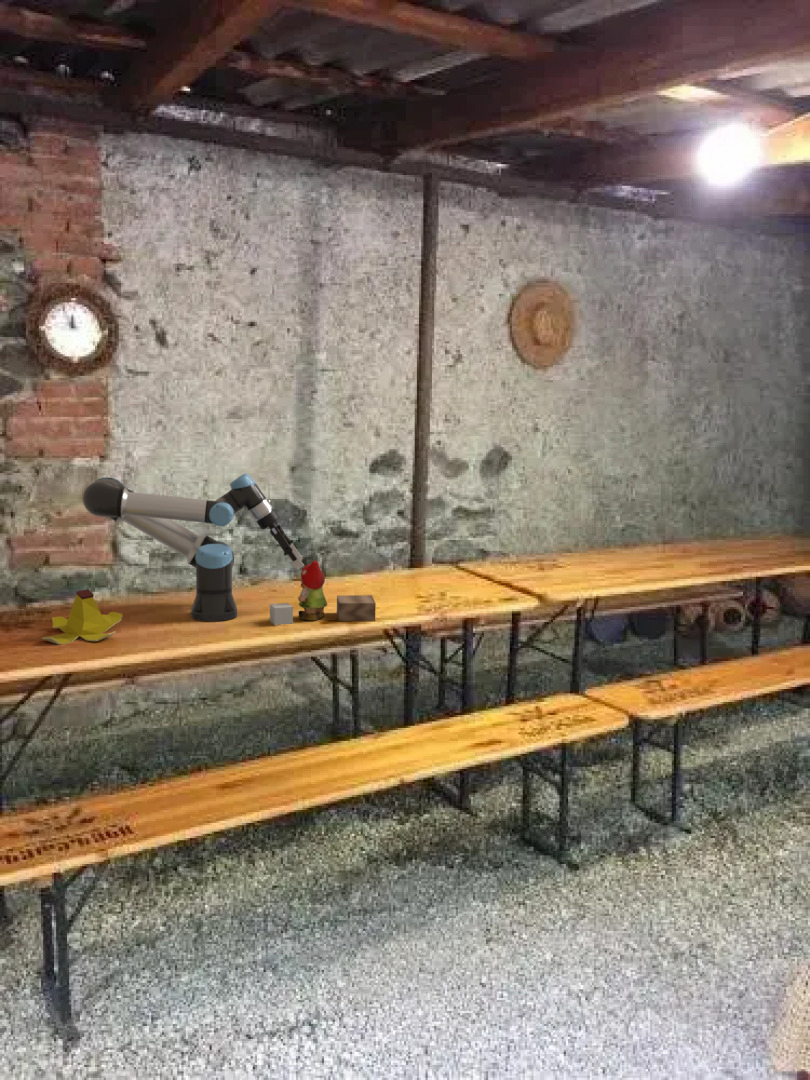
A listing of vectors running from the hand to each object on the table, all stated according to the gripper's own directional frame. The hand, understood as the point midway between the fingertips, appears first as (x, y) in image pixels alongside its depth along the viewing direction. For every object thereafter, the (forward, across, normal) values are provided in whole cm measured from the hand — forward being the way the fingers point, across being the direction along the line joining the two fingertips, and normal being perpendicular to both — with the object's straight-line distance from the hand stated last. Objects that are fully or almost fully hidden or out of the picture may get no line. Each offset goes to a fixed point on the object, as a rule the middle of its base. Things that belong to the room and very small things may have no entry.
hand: (300, 564), depth 340 cm
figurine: (+14, -17, +6) cm, 23 cm away
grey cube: (+9, -23, +14) cm, 29 cm away
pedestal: (+23, -15, -6) cm, 28 cm away
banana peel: (-26, -35, +63) cm, 77 cm away
